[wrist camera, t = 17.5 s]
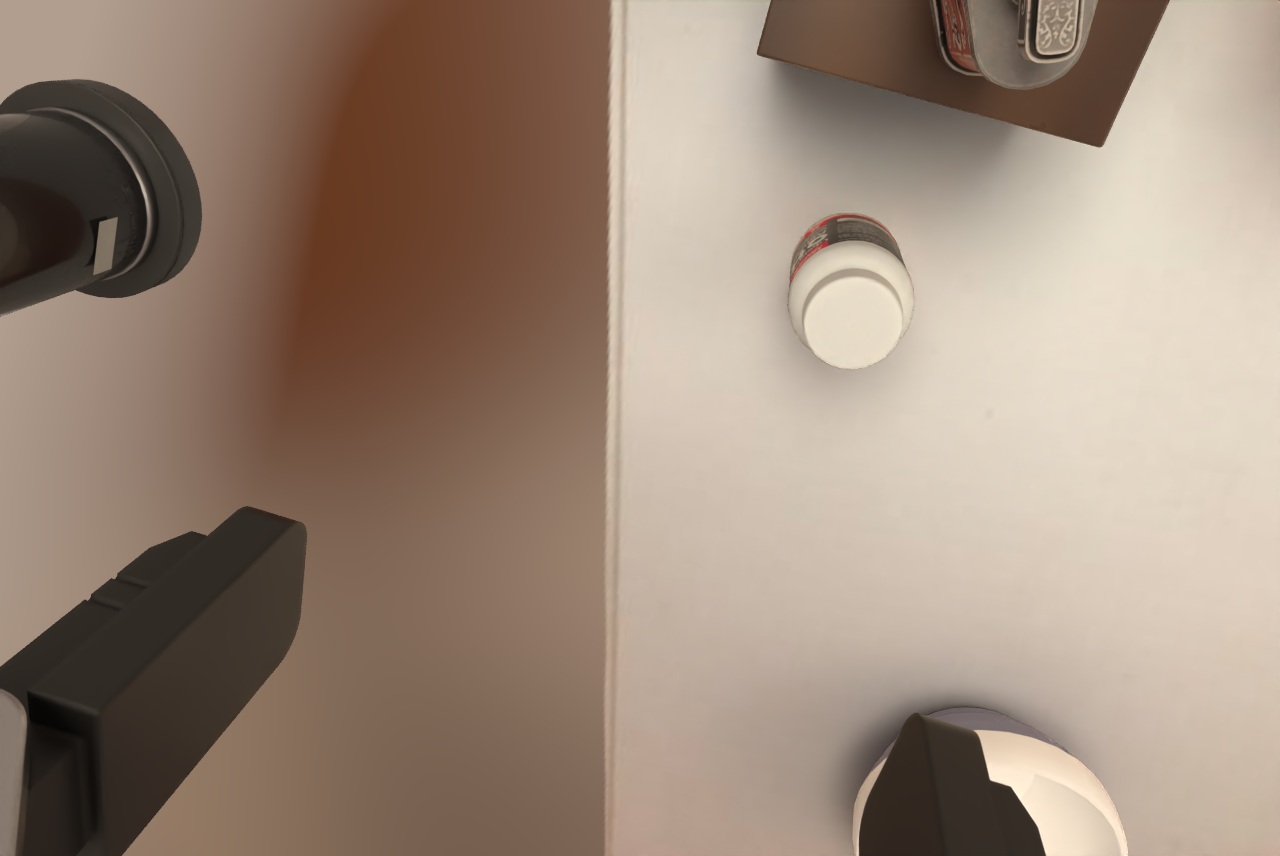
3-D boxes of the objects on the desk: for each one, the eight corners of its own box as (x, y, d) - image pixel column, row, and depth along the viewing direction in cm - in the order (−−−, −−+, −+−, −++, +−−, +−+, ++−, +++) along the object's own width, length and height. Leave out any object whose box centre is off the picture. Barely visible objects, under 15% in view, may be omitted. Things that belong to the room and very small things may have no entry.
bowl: (800, 757, 58) (799, 855, 51) (963, 624, 52) (987, 715, 45) (967, 875, 60) (988, 984, 53) (1144, 760, 54) (1193, 867, 47)
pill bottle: (802, 202, 44) (800, 248, 35) (912, 220, 43) (939, 270, 34) (781, 307, 46) (774, 374, 37) (885, 325, 45) (903, 397, 37)
